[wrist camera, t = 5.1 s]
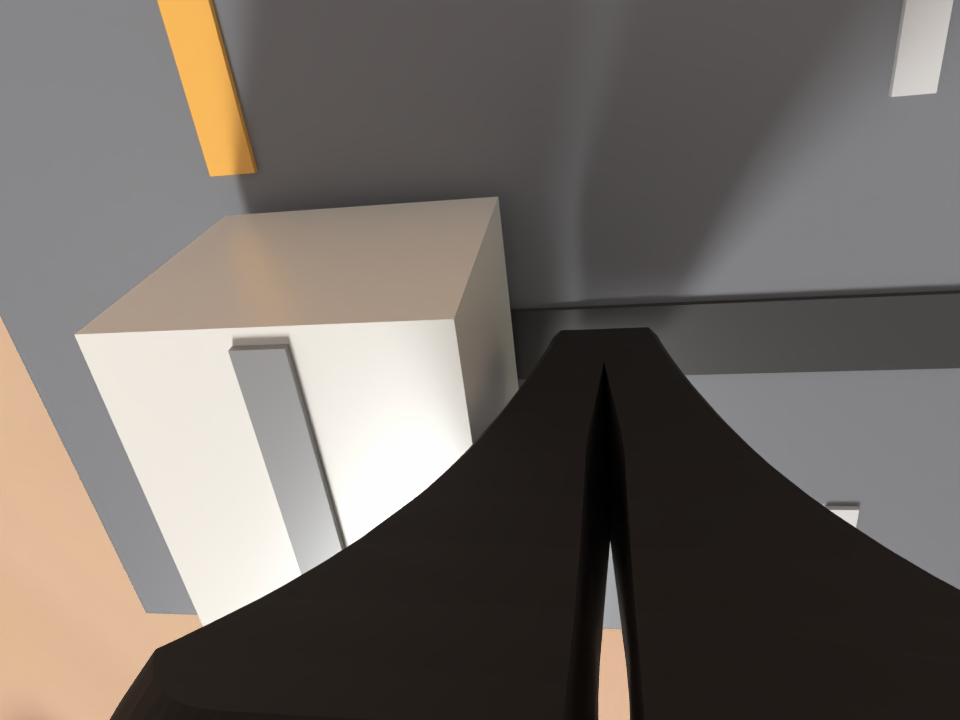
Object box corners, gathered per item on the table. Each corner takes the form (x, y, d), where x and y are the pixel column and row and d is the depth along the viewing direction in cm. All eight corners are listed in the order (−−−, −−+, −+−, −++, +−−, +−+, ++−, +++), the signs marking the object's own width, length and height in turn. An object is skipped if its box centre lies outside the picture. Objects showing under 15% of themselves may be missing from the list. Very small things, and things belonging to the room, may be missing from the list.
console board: (1491, -299, 8) (1748, -363, 6) (1118, 563, 14) (1190, 653, 13) (-68, -60, 12) (-190, -57, 10) (188, 547, 18) (143, 616, 16)
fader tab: (498, 196, 10) (451, 323, 7) (529, 484, 12) (505, 676, 9) (224, 215, 11) (67, 339, 7) (305, 484, 13) (212, 662, 10)
